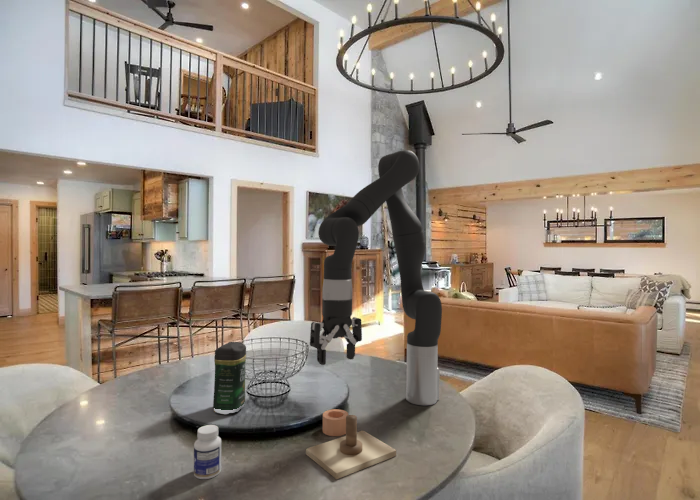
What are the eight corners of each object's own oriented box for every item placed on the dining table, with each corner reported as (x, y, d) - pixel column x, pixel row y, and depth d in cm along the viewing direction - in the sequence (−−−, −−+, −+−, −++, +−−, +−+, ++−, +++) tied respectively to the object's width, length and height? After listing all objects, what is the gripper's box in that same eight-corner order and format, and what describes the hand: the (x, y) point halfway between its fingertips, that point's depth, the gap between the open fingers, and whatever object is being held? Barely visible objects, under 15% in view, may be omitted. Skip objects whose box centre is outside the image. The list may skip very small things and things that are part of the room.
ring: (338, 422, 106) (338, 407, 106) (353, 431, 101) (353, 415, 101) (317, 428, 102) (318, 413, 102) (331, 438, 97) (332, 422, 97)
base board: (362, 435, 99) (362, 430, 99) (396, 455, 89) (396, 450, 89) (305, 454, 89) (306, 448, 89) (336, 479, 80) (336, 473, 80)
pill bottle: (198, 466, 84) (198, 423, 84) (223, 465, 84) (224, 422, 84) (190, 480, 79) (190, 435, 79) (217, 479, 79) (218, 434, 79)
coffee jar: (237, 416, 109) (238, 348, 109) (209, 415, 109) (210, 347, 109) (249, 403, 118) (249, 340, 118) (222, 402, 119) (223, 339, 119)
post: (353, 442, 93) (353, 410, 93) (366, 450, 89) (367, 418, 89) (335, 448, 90) (335, 415, 90) (348, 457, 86) (349, 423, 86)
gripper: (351, 294, 108) (350, 354, 108) (305, 297, 100) (304, 362, 100) (368, 296, 102) (367, 360, 102) (321, 300, 94) (320, 369, 94)
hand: (336, 361), depth 101 cm, fingers open, 8 cm apart
